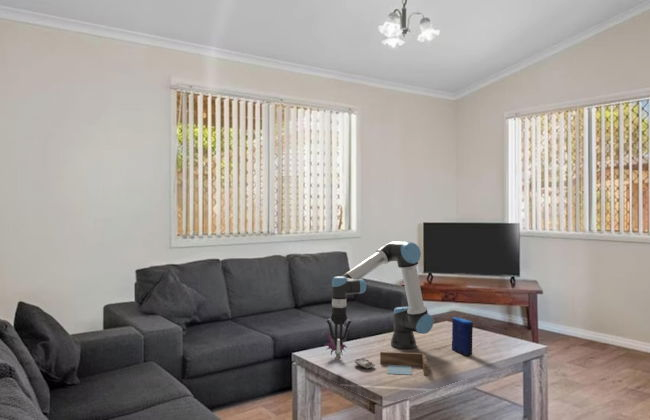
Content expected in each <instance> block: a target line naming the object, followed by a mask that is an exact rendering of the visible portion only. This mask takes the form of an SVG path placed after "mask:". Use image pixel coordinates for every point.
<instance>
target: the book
mask: <svg viewBox="0 0 650 420" xmlns="http://www.w3.org/2000/svg"><path fill="white" fill-rule="evenodd" d="M451 324H452V326H451V328H452V330H451V331H452V333H451V334H452V336H451V337H452V340H451V350H452V351H454V352H456V353H458V354H461V355H462V356H473V331H474V330H473V328H474V326H473V325H474V324H473V321H472V320H468V319H465V318H462V317H459V316H452V323H451Z"/></svg>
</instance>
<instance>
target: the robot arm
mask: <svg viewBox="0 0 650 420" xmlns="http://www.w3.org/2000/svg"><path fill="white" fill-rule="evenodd" d="M421 255H422V253H421V249H420V247H419V245H417V244H416V243H414V242H411V241H397V240H394V241H390V242H388V243H386V244H384V245H382V246H381V247H379V248H378V249H376V251H375V253H373V254H372V255H371V256H369V257H367V258H366V259H364V260H363V261H362V262H360V263H359V264H357V265H356V266H354V267H352V268H351V269H350V270H348V271H347V272H345V273H344V274H342V275H341V276H340V275H338V276H334V277H333V278H332V280H331V297H332V298H331V306H332V307H331V316H330V318H327V319H326V322H327V324H328V327H329V332H330V336H331V338H333V340H334V341H335V342H334V343H335V346H337V353H340V352H341V351H340V346H342V342H343V343H344V340H346V338H347V335H348V330H349V326H350V325H351V322H352V320H351V319H349V318H348V315H347V295H357V294H358V295H360V294H363V293H365V292H366V290H367V283H366V280H365V279H363V278H364V277H365V276H367V275H369V274H370V273H371V272H373V271H374V270H376V269H378V268H379V267H380V266H382V265H386V264H389V263H390V262H397V268H399V269H400V270H401V274H402V278H403V279H402V280H403V284H404V289H405V294H406V300H407V305H408V306H396V307H394V309H393V315H392V316H393V333H392V336H391V340H390V346H391V347H393V348H397V349H414V348H416V347H417V341H416V337H415V333H417V334H422V335H426V334H428V333H429V332H430V331H431V330H432V328H433V326H434V318H433V316H432V315H431V314H430V313H429V312H428V308H427V307H426V306H425V305H424V301H423V295H422V294H423V293H422V290H421V283H420V278H419V274H418V269H417V267H418V265H419V261H420V260H421ZM332 322H333V323H334V328H333V325H332ZM345 322H346V326H345V330H344V328H343V326H344V323H345ZM343 330H344V331H343ZM338 332H339V333H338ZM414 332H415V333H414ZM343 333H344V334H343ZM338 335H339V337H338ZM343 339H344V340H343ZM340 354H341V353H340Z"/></svg>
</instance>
